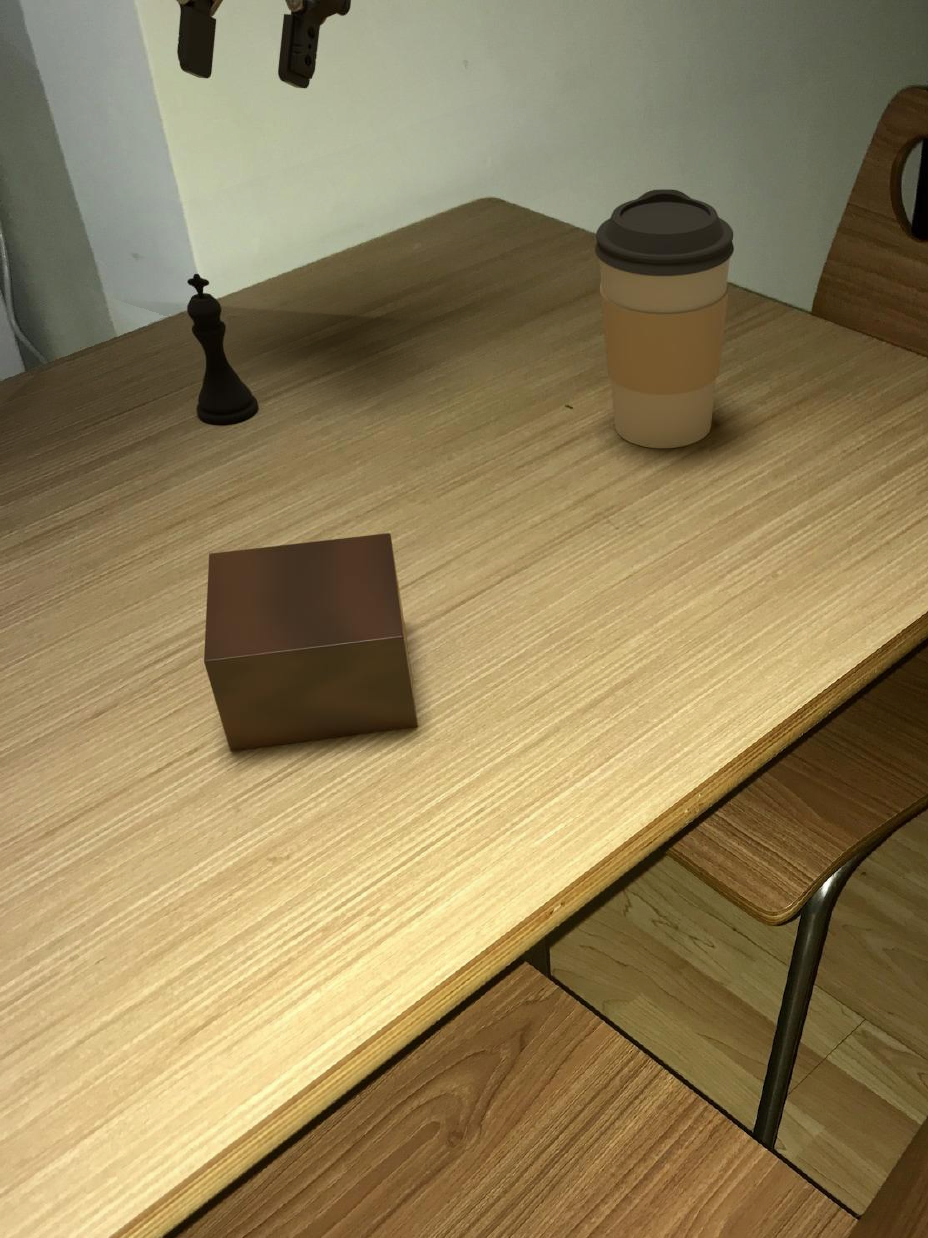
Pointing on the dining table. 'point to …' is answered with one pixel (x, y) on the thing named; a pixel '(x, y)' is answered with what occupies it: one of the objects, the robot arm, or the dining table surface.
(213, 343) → the chess piece
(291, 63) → the robot arm
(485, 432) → the dining table surface
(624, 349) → the coffee cup
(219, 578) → the brown metal block
